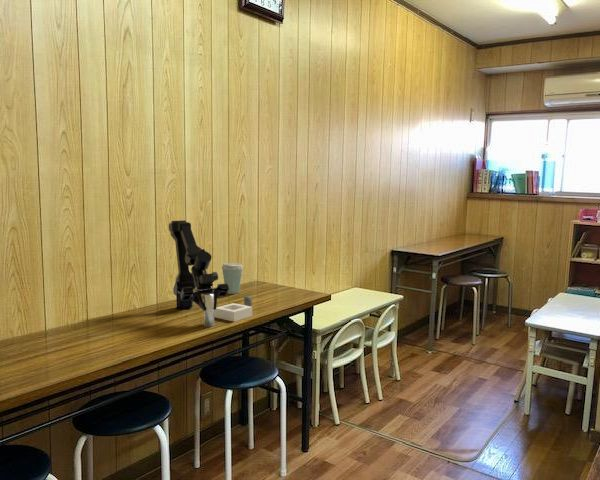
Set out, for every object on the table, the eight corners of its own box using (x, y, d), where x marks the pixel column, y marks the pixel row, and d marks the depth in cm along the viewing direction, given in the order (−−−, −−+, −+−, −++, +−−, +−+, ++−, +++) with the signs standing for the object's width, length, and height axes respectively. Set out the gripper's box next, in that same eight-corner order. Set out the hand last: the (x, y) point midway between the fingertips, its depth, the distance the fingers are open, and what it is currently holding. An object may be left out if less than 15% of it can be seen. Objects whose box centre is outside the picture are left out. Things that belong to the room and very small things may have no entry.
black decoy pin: (243, 311, 231) (243, 297, 230) (244, 309, 234) (244, 296, 233) (251, 311, 231) (250, 297, 230) (252, 309, 234) (252, 296, 233)
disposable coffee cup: (235, 289, 275) (235, 261, 273) (247, 293, 267) (247, 263, 265) (218, 292, 268) (217, 263, 267) (229, 296, 260) (229, 266, 258)
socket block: (234, 321, 214) (234, 312, 213) (214, 317, 220) (214, 308, 220) (252, 316, 223) (252, 306, 222) (233, 312, 229) (232, 303, 229)
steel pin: (203, 326, 206) (202, 295, 205) (205, 324, 210) (204, 293, 209) (213, 327, 206) (212, 295, 205) (215, 324, 210) (214, 293, 209)
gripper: (181, 267, 204) (191, 301, 196) (227, 263, 213) (238, 295, 205) (176, 283, 212) (185, 317, 204) (220, 279, 221) (230, 311, 213)
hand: (210, 309), depth 206 cm, fingers closed on steel pin, 4 cm apart
